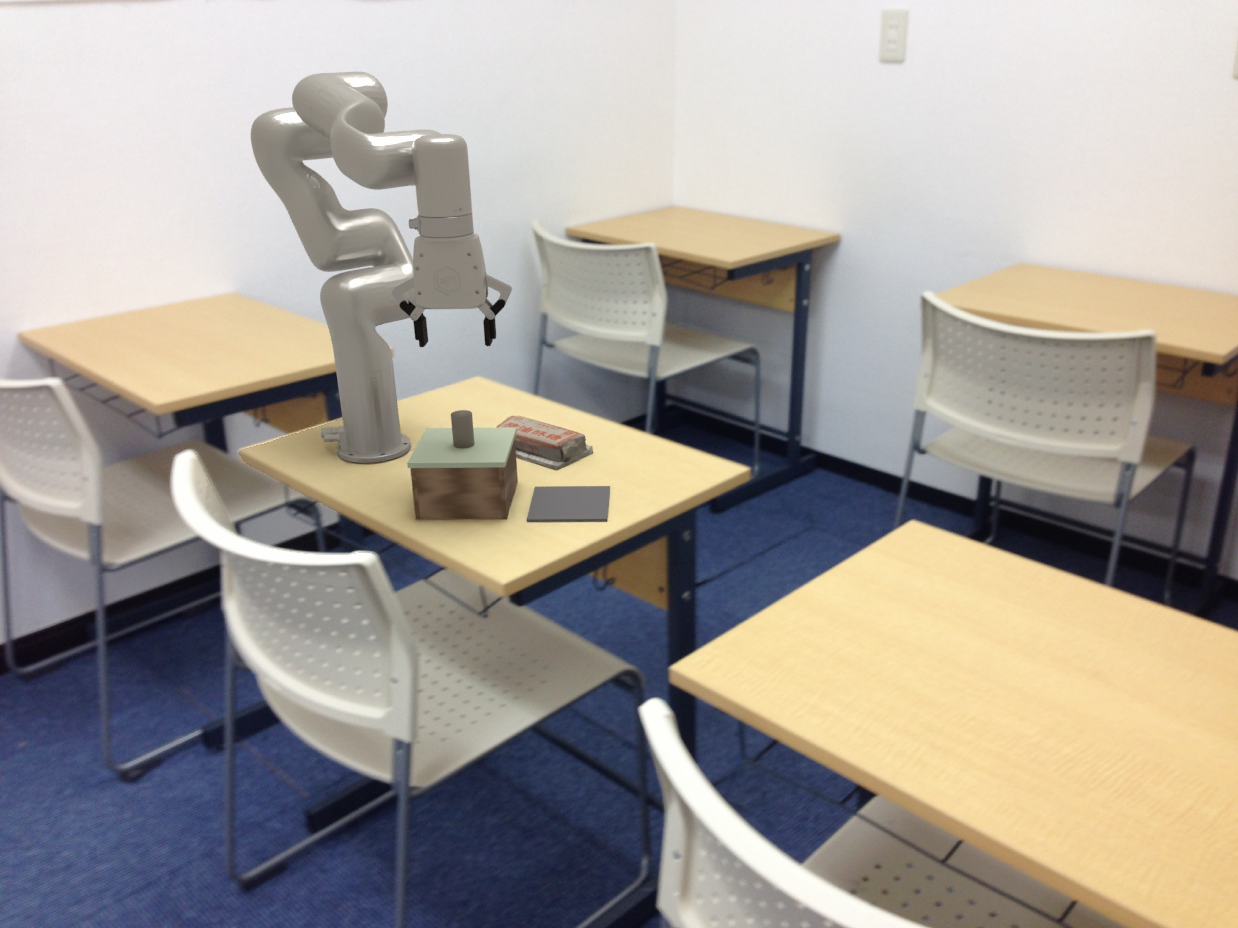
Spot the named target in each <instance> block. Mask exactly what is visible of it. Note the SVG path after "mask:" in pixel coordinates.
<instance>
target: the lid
mask: <svg viewBox="0 0 1238 928" xmlns="http://www.w3.org/2000/svg"><path fill="white" fill-rule="evenodd" d="M450 419H451V421H450V422H451V427H431V428H430V427H428V428H426V429H425V430H424V433H423V434H422V436H421V437H420V439H419V441H418V442H417V445H416V446H415V448H414V450H413V452H412V453H411V455H410V457H409V459H408V461H407V463H406V464H407V469H410V468H487V467H505V466H506V463H507V460H508V457H509V454H510V451H511V448H512V445H513V442H514V439H515V436H516V433H517V427H503V428H496V427H474V420H473V419H474V418H473V412H472V411H471V410H467V409H461V410H460V409H459V410H455V411H453V412H451V413H450Z"/></svg>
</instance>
